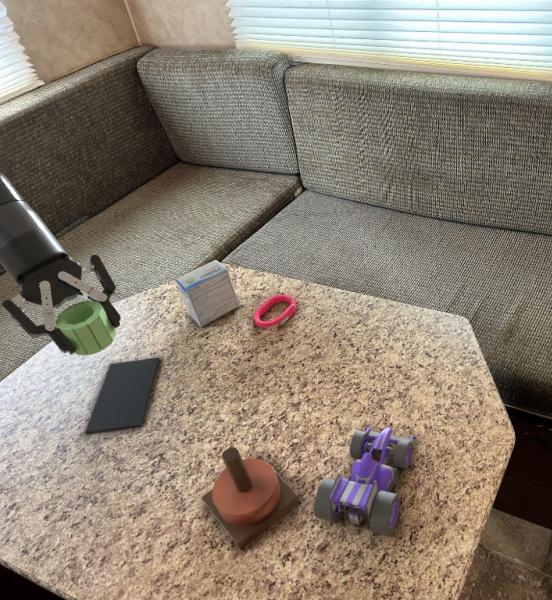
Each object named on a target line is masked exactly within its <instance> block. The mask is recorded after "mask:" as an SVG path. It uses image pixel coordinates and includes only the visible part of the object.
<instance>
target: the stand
mask: <svg viewBox="0 0 552 600" xmlns="http://www.w3.org/2000/svg"><path fill="white" fill-rule="evenodd" d="M221 459H222V461H223V463H224V465H225V467H226V468H225V469H223V470H222V471H221V473H220V474H219V475H218V476H217V478H216V479H215V482H214V484H213V486H212V489H211V490H209V491H208V492H206V493H205V494H203V495H202V496H201V497H200V498H201V500H202V502H203V504H204V505H205V506H206V508H207V509H208V510H209V512H210V513H211V514H212V515H213V517H214V518H215V520H216V521H217V522H218V523H219V525H220V526H221V528H223V530H224V532H225V533H226V534H227V536H229V538H230V539H231V541H232V542H233V543H234V545H235V546H236V547H237V548H238V550H239V551H242V550H243V549H244V548H245V547H246V546H248V545H249V544H251V543H252V542H253V541H254V540H255V539H257V538H258V537H259V536H261V534H263V533H264V532H266V530H268V529H269V528H271V526H273V525H274V524H276V523H277V522H278V521H279V520H280V519H282V518H283V517H284V516H285V515H287V514H289V513H290V511H292V510H293V509H294V508H295V507H297V506H298V505H300V504H301V499H300V497H299V495H298V494H297V493H296V491H294V490H293V488H292V487H291V486H290V485H289V484H288V483H287V482H286V481H285V480H284V479H283V477H281V475H279V473H278V472H277V471H276V470H275V469H274V467H273V466H272V465H271V464H270V463H269V462H268V461H267V460H266V459H265V458H264V457H263V456H262V455H261V454H258V456H256V457H254V458H244V459H243V458H242V455H241V453H240V451H239V449H238V448H236V447H228V448H226V449H225V450H224V451H223V452H222V455H221Z"/></svg>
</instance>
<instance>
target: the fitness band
mask: <svg viewBox="0 0 552 600" xmlns="http://www.w3.org/2000/svg"><path fill="white" fill-rule="evenodd" d="M279 302H280V303H281V302H287V303H289V304H290V305H288V307H287V308H286V309H285V310H284V311H283V312H282V313H281V314H279V316H278V317H276V318H275V319H272V320H268V321H263V320H261V317H262V316H263V315H264V314H265V313H266V312H267V311H268V310H269V309H270V308H271V307H272V306H273V305H275V304H276V303H279ZM296 309H297V304H296V301H295V300H294V299H293V298H292V297H291V296H289V295H286V294H275V295H273V296H271V297H269V298H268V299H267V300H265V301H264V302H263V303H262V304H261V305H260V306H259V307H258V308H257V310H256V311H255V313H254V315H253V319H254V323H255V324H256V326H257V327H259V328H270V327H275V326H276V325H278V326H281V327H282V326H284V324H285V323H286V322H287V321H288V320H289V319H290V318H291V317H292V315H294V314H295V311H296Z"/></svg>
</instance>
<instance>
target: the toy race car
mask: <svg viewBox="0 0 552 600" xmlns="http://www.w3.org/2000/svg"><path fill="white" fill-rule="evenodd" d="M392 433H393V428H391V427H388V426H387V427H385V428H384V429H383V430H381V431H380V432H378V431H374V430H372V429H371V427H370V426H368V427H367V428H366V430H365V431H363V430H356V431H355V432H354V433H353V435H352V438H351V440H350V445H349V455H350V458H352V459H354V462H353V464H352V468H351V469H352V470H351V475H350V479H348V478H344V477H343V474H342V472H338V473H337V476H336V478H335V479H334V478H329V477H325V478H324V479H323V480H322V481H321V482H320V484H319V486H318V488H317V491H316V494H315V498H314V503H313V513H314V516H315V518H316V519H319V520H320V519H321V520H324V521H329V522H332V523H335V522H337V521H338V519H339V518H340V516H341V515H342V512H344V513H347V514H348V517H349V521H350V524H354V525H357V526H359V525H361V524H362V522H363V520H364V518H367V521H368V522H369V529H370V531H371V532H372V533H376V534H379V535H383V536H388V537H390V536H392V534H393V533H394V531H395V529H396V526H397V523H398V519H399V515H400V509H401V498H400V494H398V493H395V492H391V491H392V489H393V488H394V486H395V485H396V483H397V481H398V478H399V475H400V472H401V469H402V470H407V469H408V468H409V466H410V463H411V460H412V457H413V456H412V455H413V449H414V447H413V444H414V441H415V439H414V435H410V437H409V438H408V437H404V436H399V435H394V434H392ZM370 440H374V441H373V443H370ZM389 443H394V444H396V446H395V448H393V447H390V444H389ZM388 456H391V457H392V456H393V465H394V467H393V466H390V465H387V459H388ZM344 506H346V507H348V510H346V509H344Z"/></svg>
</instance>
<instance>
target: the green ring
mask: <svg viewBox="0 0 552 600" xmlns="http://www.w3.org/2000/svg"><path fill="white" fill-rule="evenodd" d="M55 325H56V327H58V328H59V329H60V330H61V332H62V333H63V334H64V335H65V336H66V338H67V339H68V340H69V342H70V343H71V344H72V346H73V347H74V348H75V350H76V352H75V353H74V354H75V355H78V356H92V355H94V354H97V353H100V352H102V351H104V350H106V349H107V348H108V347H109V346H110V345H111V344H113V342H114V341H115V339H116V335H117V331H116V329H115V328H114V327H113V325H112V324H111V322H110V320H109V318H108V316H107V314H106V312H105V310H104V309H103V307H102V306H101V304H100V303H99V302H97V301H90V300H83V301H79V302H77V303H73V304H72V305H69V306H68V307H67V308H65V309H64V310H62V311H61V312H60V313H59V314H58V315H57V318H56V321H55ZM58 328H57V329H58Z"/></svg>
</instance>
